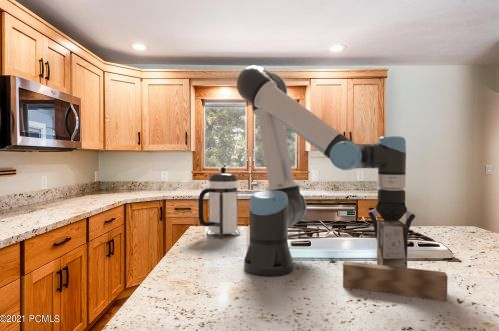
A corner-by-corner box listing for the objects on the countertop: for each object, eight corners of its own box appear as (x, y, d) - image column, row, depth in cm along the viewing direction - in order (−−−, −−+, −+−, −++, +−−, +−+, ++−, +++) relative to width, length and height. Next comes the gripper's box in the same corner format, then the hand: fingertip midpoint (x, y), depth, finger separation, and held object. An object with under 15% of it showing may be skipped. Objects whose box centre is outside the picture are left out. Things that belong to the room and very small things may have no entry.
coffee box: (407, 287, 88) (408, 226, 88) (382, 285, 89) (382, 225, 89) (399, 275, 97) (400, 220, 97) (376, 273, 98) (376, 219, 98)
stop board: (342, 286, 88) (343, 264, 88) (344, 282, 91) (344, 260, 91) (447, 301, 80) (447, 276, 79) (444, 296, 82) (445, 272, 82)
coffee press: (208, 230, 157) (208, 166, 156) (242, 231, 155) (242, 166, 154) (198, 239, 140) (197, 167, 139) (235, 240, 137) (235, 167, 137)
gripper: (367, 189, 97) (366, 269, 98) (417, 190, 93) (416, 275, 93) (368, 187, 104) (367, 262, 105) (414, 188, 100) (413, 267, 100)
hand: (390, 268), depth 99 cm, fingers closed
